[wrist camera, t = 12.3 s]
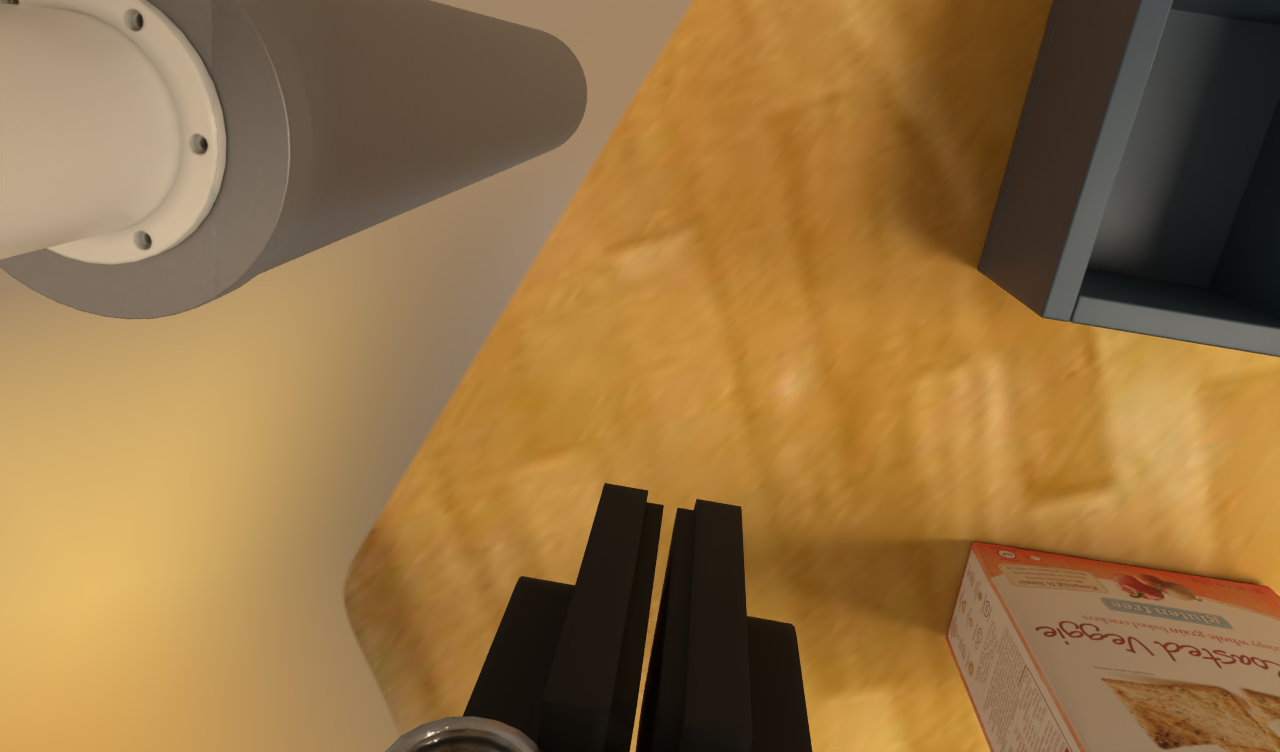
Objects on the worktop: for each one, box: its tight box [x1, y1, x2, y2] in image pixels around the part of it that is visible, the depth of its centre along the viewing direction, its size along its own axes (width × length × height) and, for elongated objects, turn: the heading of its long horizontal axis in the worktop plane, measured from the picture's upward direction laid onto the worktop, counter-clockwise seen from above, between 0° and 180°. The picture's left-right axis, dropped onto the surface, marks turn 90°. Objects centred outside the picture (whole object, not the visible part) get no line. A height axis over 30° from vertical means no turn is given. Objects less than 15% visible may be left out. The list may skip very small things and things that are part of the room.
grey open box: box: [978, 0, 1280, 357], centre depth 32 cm, size 8×12×10 cm
